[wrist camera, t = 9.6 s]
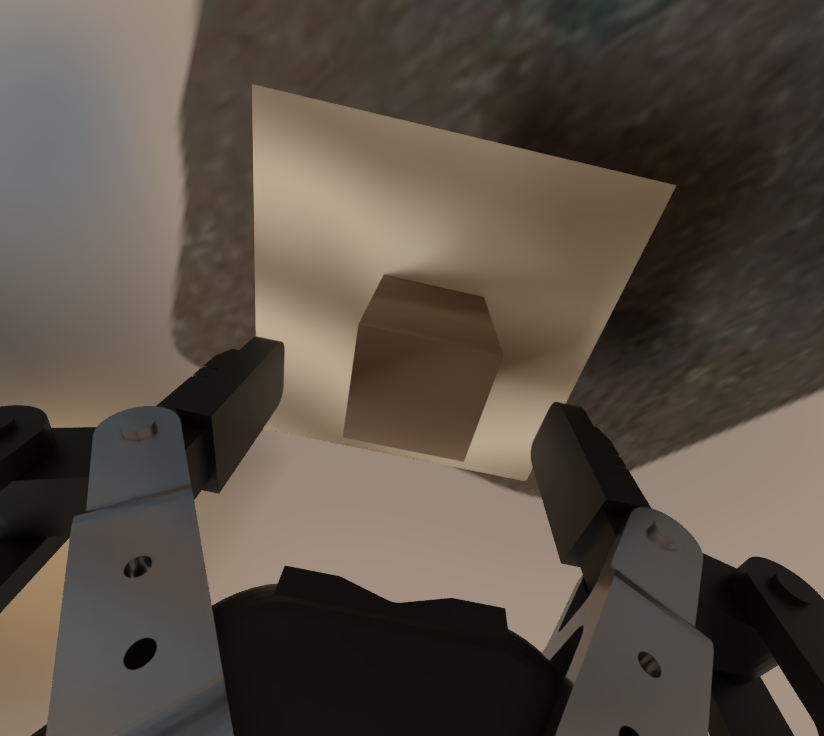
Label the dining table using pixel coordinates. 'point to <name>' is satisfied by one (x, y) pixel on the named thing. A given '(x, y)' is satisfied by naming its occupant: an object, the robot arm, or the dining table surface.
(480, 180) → the lid
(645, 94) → the dining table surface
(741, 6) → the dining table surface
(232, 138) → the dining table surface
